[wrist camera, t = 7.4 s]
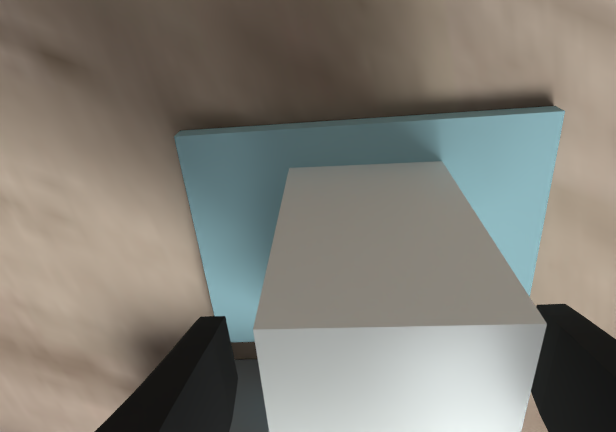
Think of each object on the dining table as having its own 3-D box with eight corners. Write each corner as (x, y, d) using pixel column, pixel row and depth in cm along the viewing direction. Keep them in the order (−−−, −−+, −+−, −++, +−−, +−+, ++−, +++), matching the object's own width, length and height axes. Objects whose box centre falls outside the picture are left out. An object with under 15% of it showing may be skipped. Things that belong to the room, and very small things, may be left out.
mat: (223, 331, 17) (220, 342, 17) (180, 130, 13) (174, 136, 13) (516, 322, 16) (522, 333, 16) (554, 105, 13) (564, 110, 12)
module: (303, 323, 16) (286, 537, 10) (288, 167, 13) (252, 329, 7) (429, 320, 16) (494, 540, 9) (442, 161, 13) (547, 323, 7)
